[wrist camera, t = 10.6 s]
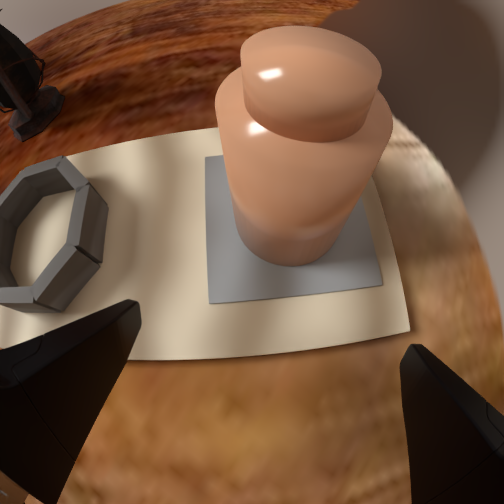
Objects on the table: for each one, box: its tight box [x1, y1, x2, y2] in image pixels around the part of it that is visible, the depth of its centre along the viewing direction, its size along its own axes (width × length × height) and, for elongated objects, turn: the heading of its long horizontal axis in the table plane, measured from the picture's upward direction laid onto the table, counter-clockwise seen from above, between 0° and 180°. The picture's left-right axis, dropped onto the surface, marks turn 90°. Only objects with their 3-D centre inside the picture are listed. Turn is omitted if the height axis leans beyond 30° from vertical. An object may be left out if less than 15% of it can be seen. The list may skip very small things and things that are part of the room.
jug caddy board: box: [0, 127, 410, 360], centre depth 17 cm, size 30×16×4 cm, turn 95°
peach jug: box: [215, 26, 393, 266], centre depth 13 cm, size 9×6×11 cm
